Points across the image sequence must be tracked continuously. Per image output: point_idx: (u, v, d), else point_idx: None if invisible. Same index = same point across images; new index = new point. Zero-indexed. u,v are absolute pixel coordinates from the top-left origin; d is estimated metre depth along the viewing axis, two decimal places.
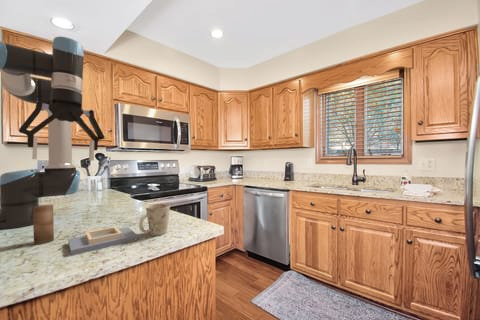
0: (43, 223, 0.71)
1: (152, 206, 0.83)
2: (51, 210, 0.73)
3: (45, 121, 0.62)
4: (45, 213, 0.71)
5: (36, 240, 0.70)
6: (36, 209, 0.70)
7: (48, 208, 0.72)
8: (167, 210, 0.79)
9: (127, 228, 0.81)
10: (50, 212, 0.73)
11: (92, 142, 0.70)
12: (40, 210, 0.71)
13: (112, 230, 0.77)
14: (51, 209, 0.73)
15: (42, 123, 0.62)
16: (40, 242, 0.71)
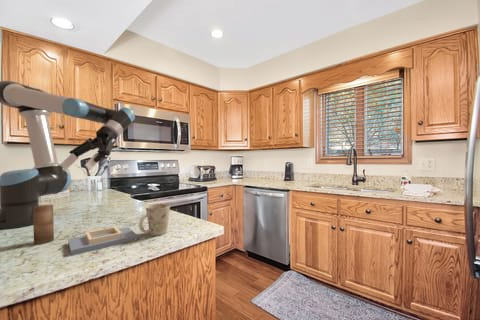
0: (43, 223, 0.71)
1: (152, 206, 0.83)
2: (51, 210, 0.73)
3: None
4: (44, 213, 0.71)
5: (36, 240, 0.70)
6: (36, 209, 0.70)
7: (48, 208, 0.72)
8: (167, 210, 0.79)
9: (127, 228, 0.81)
10: (50, 212, 0.73)
11: None
12: (40, 210, 0.71)
13: (112, 230, 0.77)
14: (51, 209, 0.73)
15: None
16: (40, 242, 0.71)
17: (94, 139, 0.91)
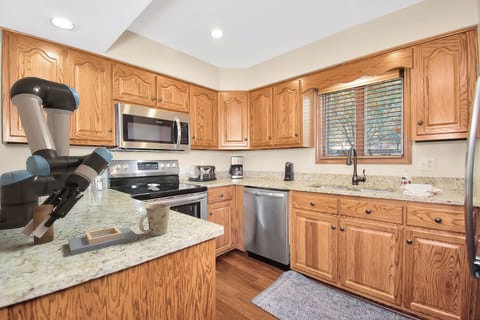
0: None
1: (152, 206, 0.83)
2: (51, 210, 0.73)
3: None
4: (44, 213, 0.71)
5: (36, 240, 0.70)
6: (36, 209, 0.70)
7: (48, 208, 0.72)
8: (167, 210, 0.79)
9: (127, 228, 0.81)
10: (50, 212, 0.73)
11: None
12: (40, 210, 0.71)
13: (112, 230, 0.77)
14: (51, 209, 0.73)
15: None
16: (40, 242, 0.71)
17: (62, 190, 0.79)
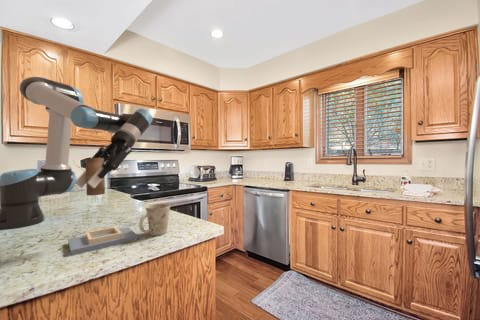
0: None
1: (152, 206, 0.83)
2: (102, 162, 0.72)
3: None
4: (97, 164, 0.70)
5: (89, 191, 0.69)
6: (89, 159, 0.69)
7: (100, 159, 0.71)
8: (167, 210, 0.79)
9: (127, 228, 0.81)
10: (102, 164, 0.72)
11: None
12: (94, 161, 0.70)
13: (112, 230, 0.77)
14: (102, 161, 0.72)
15: None
16: (94, 193, 0.70)
17: (110, 145, 0.78)
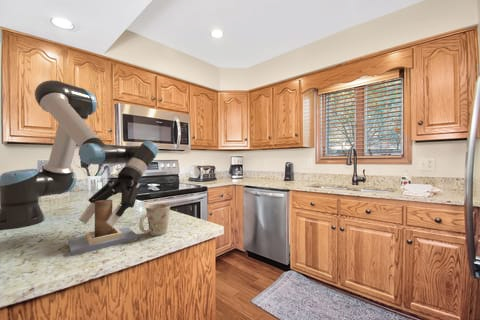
0: (105, 218, 0.71)
1: (152, 206, 0.83)
2: (111, 205, 0.73)
3: None
4: (106, 208, 0.71)
5: (97, 235, 0.70)
6: (98, 204, 0.70)
7: (109, 203, 0.72)
8: (167, 210, 0.79)
9: (127, 228, 0.81)
10: (111, 207, 0.72)
11: None
12: (103, 205, 0.70)
13: (112, 230, 0.77)
14: (111, 204, 0.73)
15: None
16: None
17: (117, 183, 0.79)
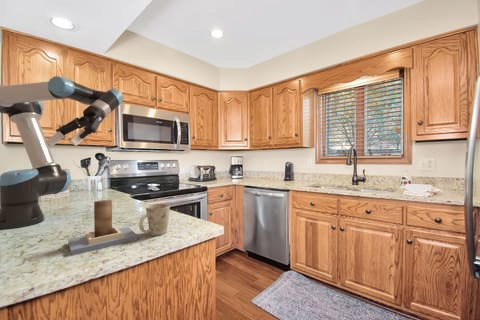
0: (105, 218, 0.71)
1: (152, 206, 0.83)
2: (110, 205, 0.73)
3: None
4: (106, 208, 0.71)
5: (97, 235, 0.70)
6: (98, 204, 0.70)
7: (108, 203, 0.72)
8: (167, 210, 0.79)
9: (127, 228, 0.81)
10: (110, 207, 0.72)
11: None
12: (102, 205, 0.70)
13: (112, 230, 0.77)
14: (110, 204, 0.73)
15: None
16: None
17: (81, 118, 0.91)
